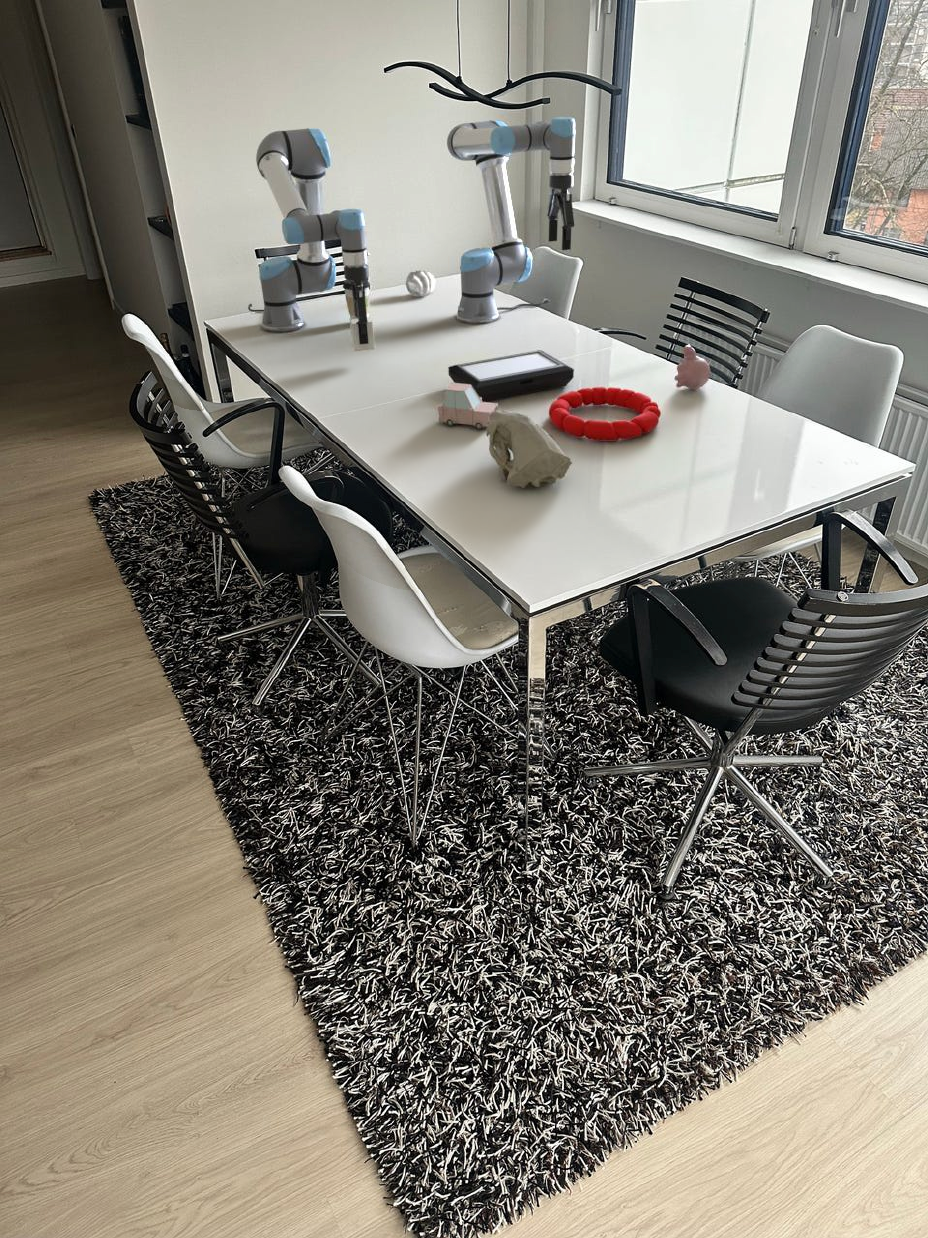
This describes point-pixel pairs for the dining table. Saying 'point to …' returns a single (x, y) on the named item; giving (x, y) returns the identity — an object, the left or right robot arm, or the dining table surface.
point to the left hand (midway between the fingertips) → (362, 340)
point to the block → (355, 336)
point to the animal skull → (525, 450)
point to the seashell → (420, 283)
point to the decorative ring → (604, 428)
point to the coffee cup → (350, 298)
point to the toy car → (465, 406)
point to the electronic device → (512, 374)
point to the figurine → (692, 370)
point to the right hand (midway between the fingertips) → (559, 245)
